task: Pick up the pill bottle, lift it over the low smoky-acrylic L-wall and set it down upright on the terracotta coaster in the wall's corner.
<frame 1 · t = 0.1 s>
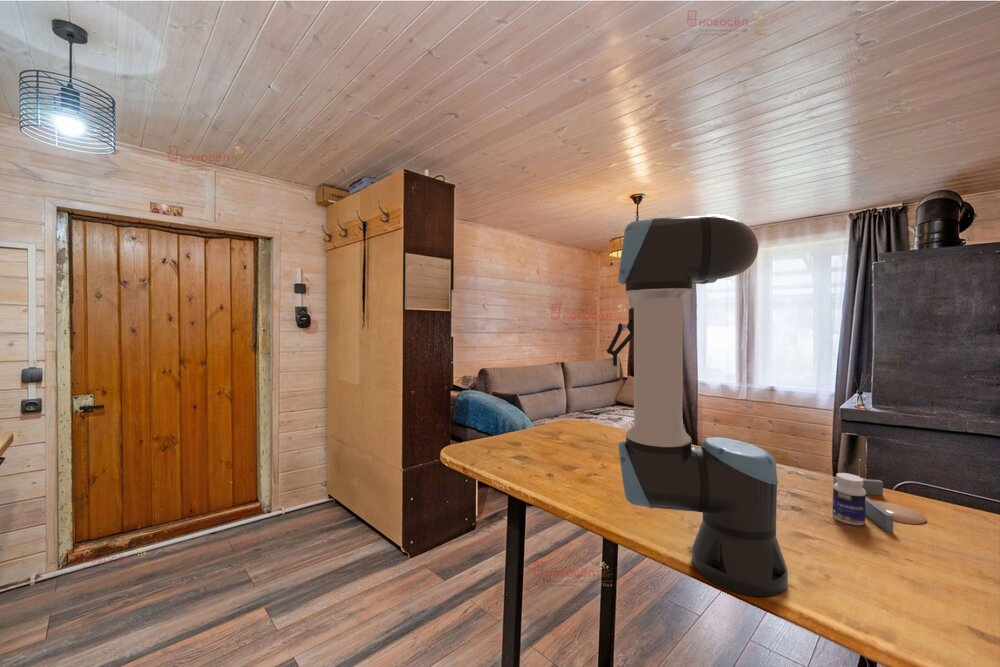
hand: (641, 377, 125), 28 cm above the table, fingers open, 13 cm apart
pill bottle: (848, 520, 93), on the table
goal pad: (895, 513, 96), on the table
low walls: (861, 510, 97), on the table
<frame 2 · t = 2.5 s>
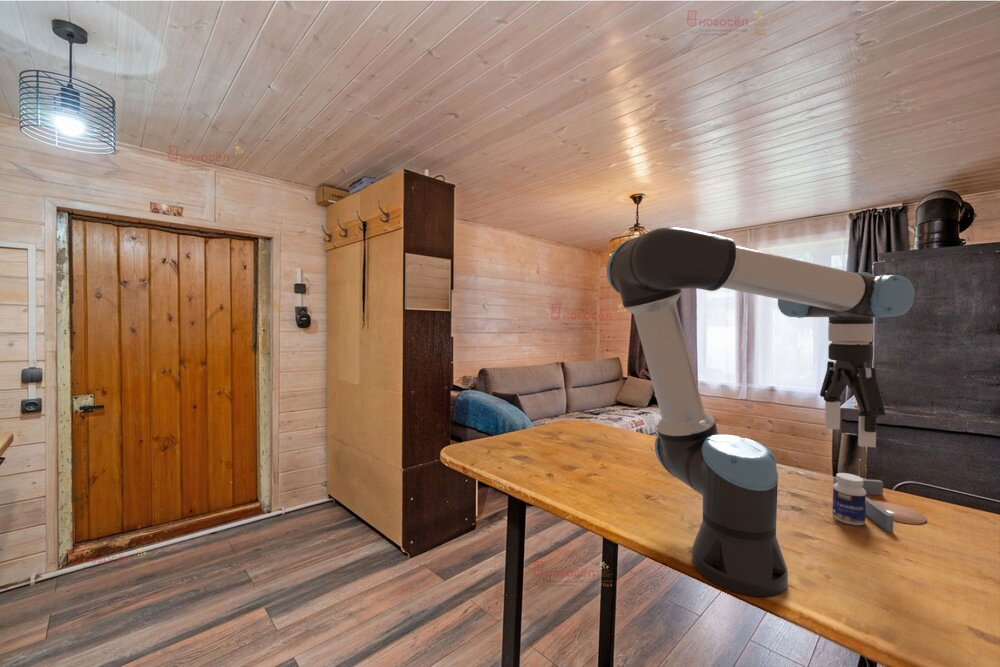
hand: (848, 437, 93), 19 cm above the table, fingers open, 13 cm apart
nothing on the table moved.
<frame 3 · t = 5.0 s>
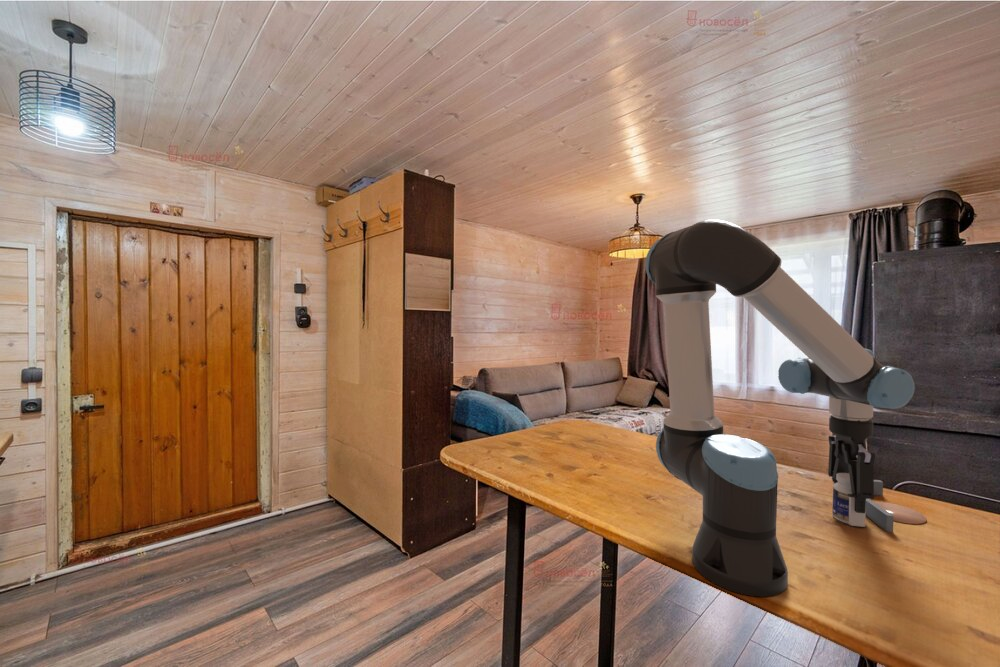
hand: (848, 518, 93), 0 cm above the table, fingers closed on pill bottle, 6 cm apart
pill bottle: (848, 520, 93), on the table, touching gripper
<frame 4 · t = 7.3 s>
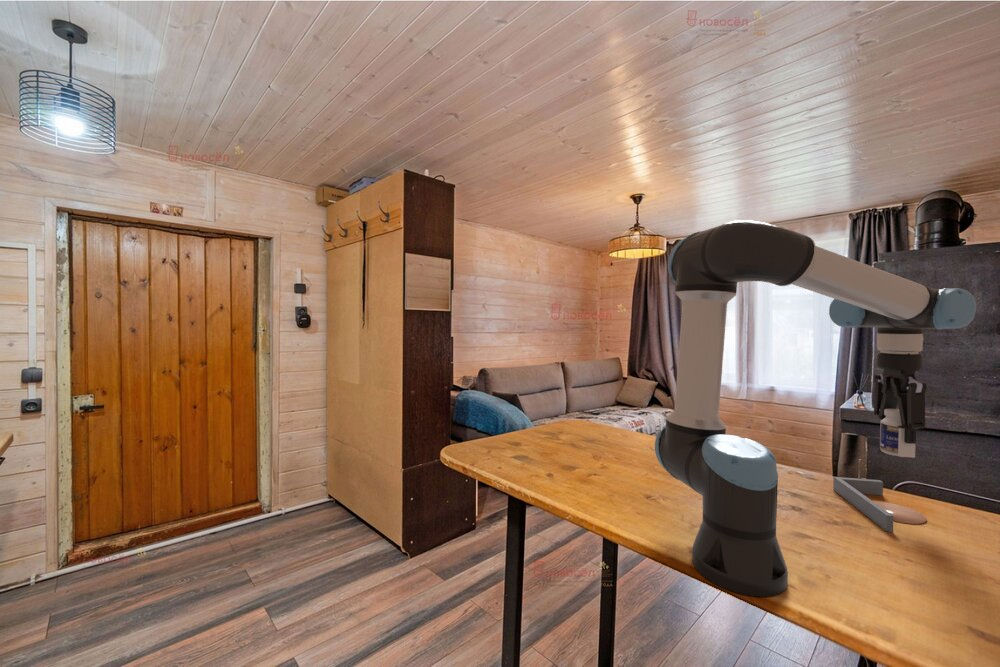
hand: (896, 451, 95), 14 cm above the table, fingers closed on pill bottle, 6 cm apart
pill bottle: (896, 454, 95), point 14 cm above the table, touching gripper
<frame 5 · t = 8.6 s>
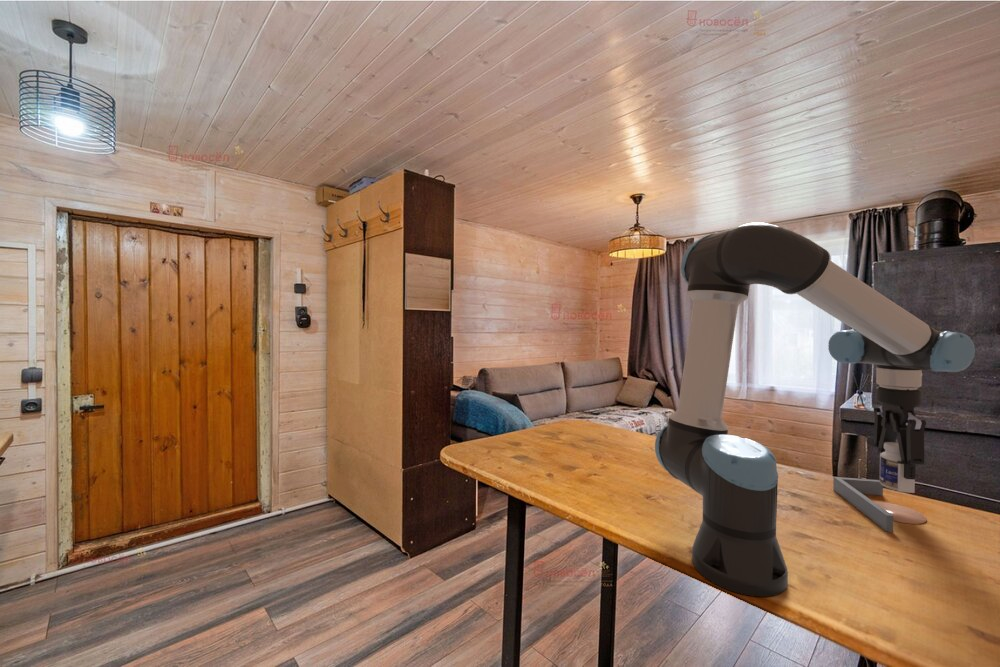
hand: (896, 485, 95), 6 cm above the table, fingers closed on pill bottle, 6 cm apart
pill bottle: (896, 488, 95), point 6 cm above the table, touching gripper
when the fingers open (2 cm above the table, at t = 9.7 s): pill bottle drops 1 cm, resting on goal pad.
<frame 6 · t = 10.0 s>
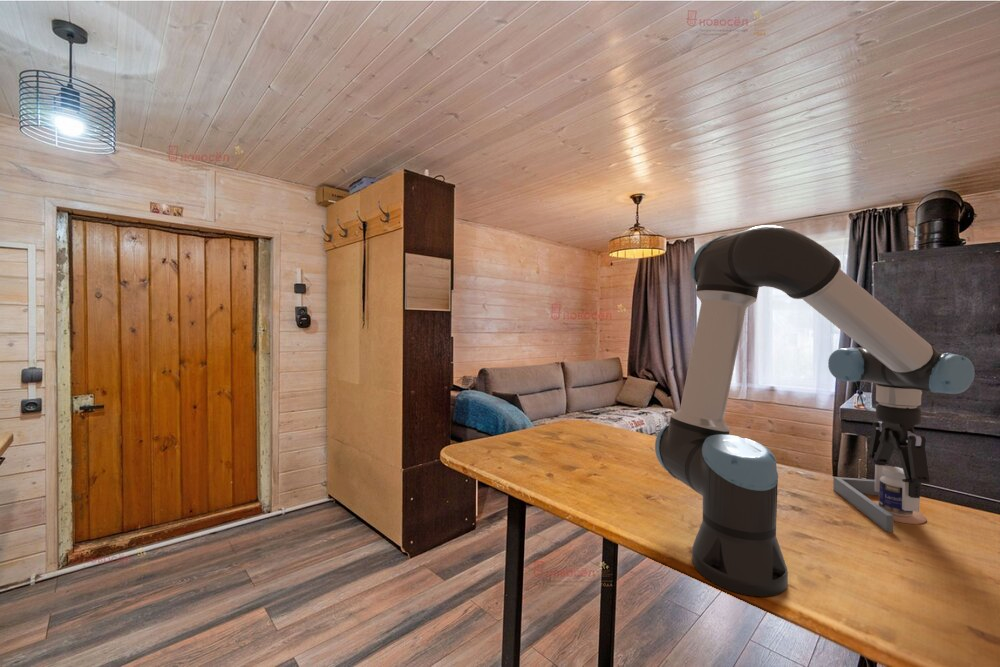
hand: (895, 500, 96), 3 cm above the table, fingers open, 9 cm apart
pill bottle: (895, 512, 96), resting on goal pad
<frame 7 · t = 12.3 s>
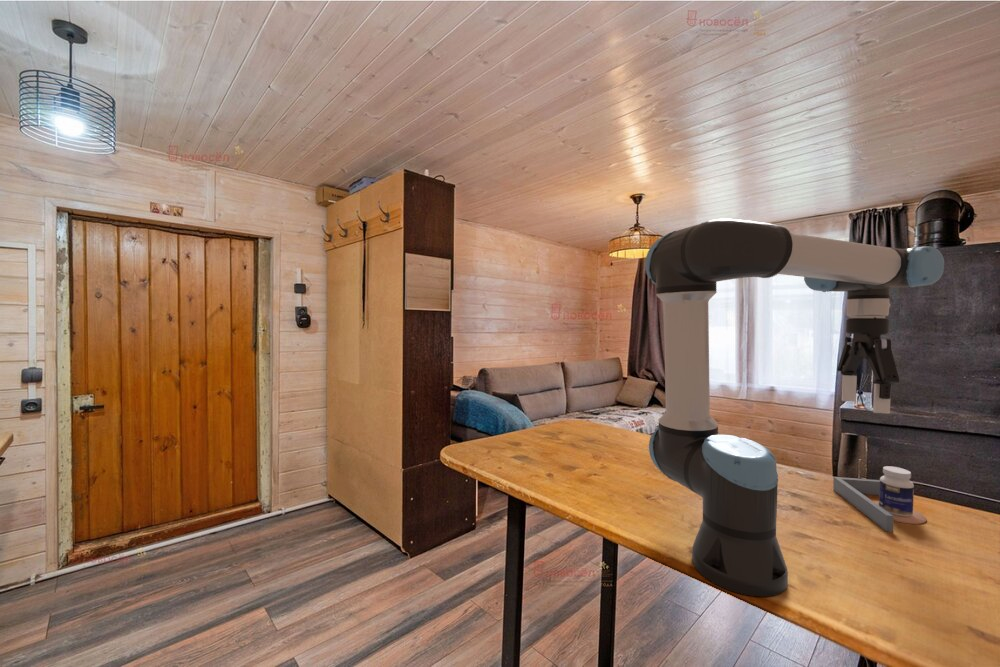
hand: (863, 406, 98), 24 cm above the table, fingers open, 13 cm apart
nothing on the table moved.
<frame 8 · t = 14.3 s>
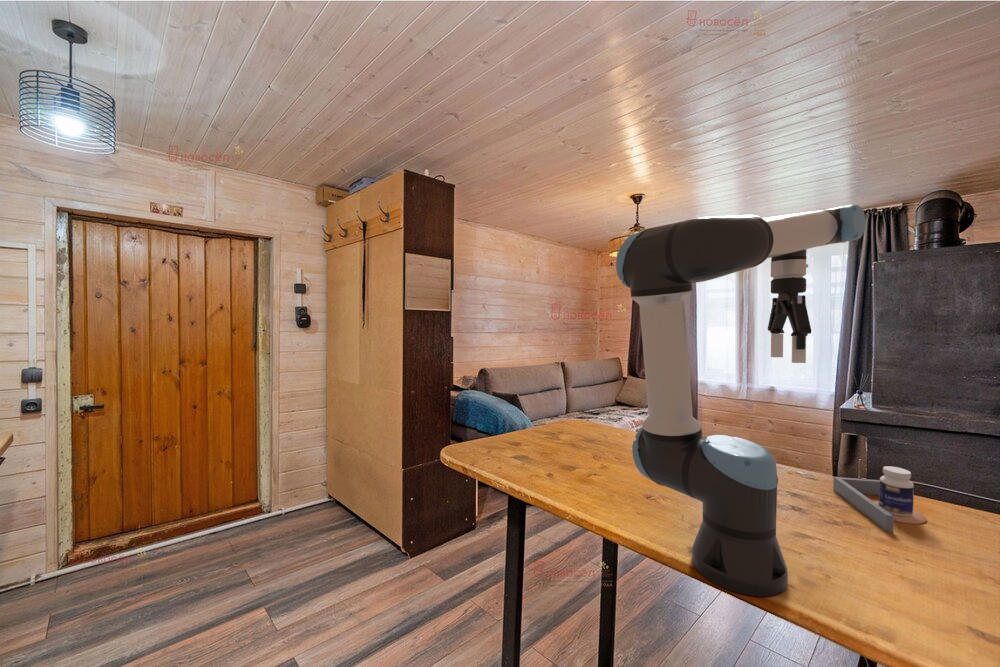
hand: (787, 359, 107), 35 cm above the table, fingers open, 13 cm apart
nothing on the table moved.
at the end: pill bottle 0.2 cm from the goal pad (horizontally); pill bottle tilted 0°; the gripper is holding nothing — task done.
